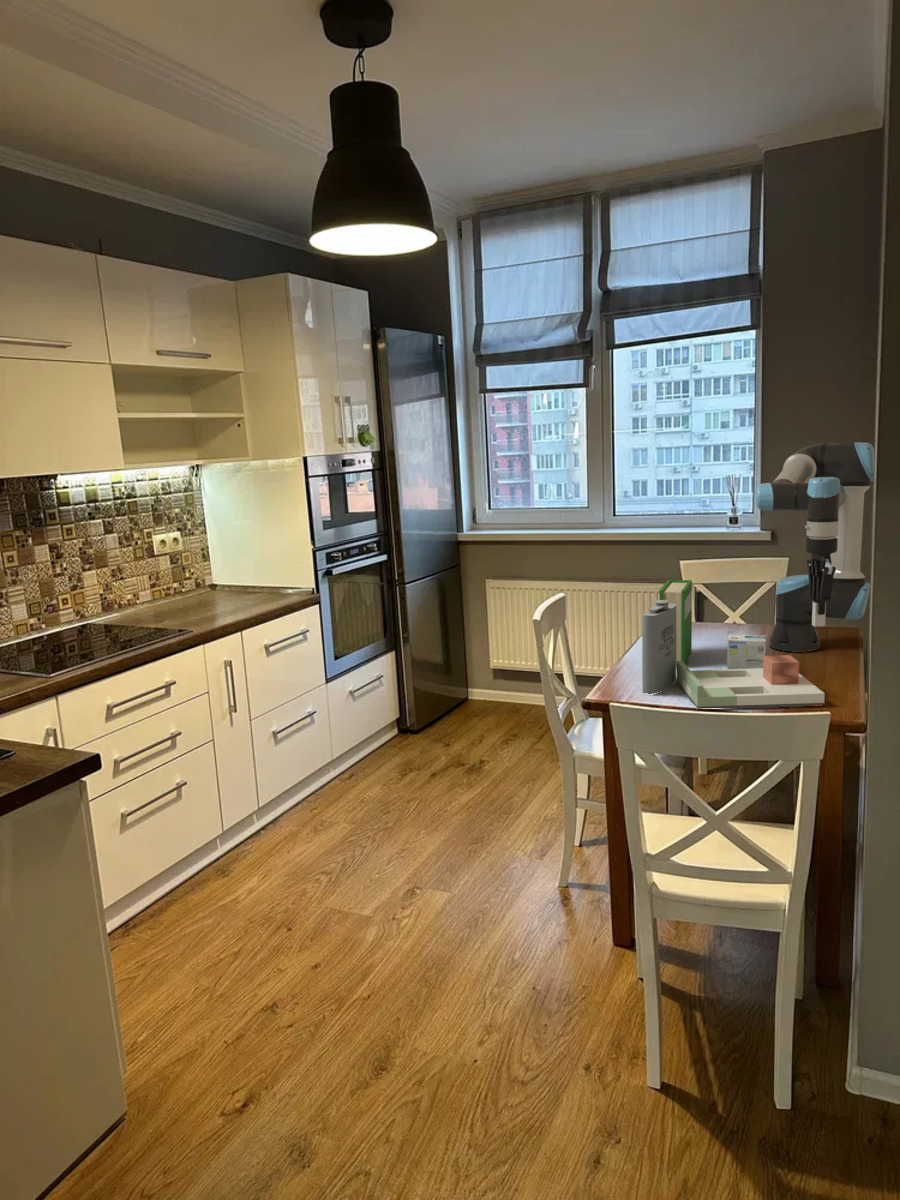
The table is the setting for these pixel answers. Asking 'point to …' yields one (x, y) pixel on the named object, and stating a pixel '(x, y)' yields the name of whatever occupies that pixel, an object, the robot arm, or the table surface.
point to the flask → (659, 647)
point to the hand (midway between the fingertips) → (818, 625)
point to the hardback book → (681, 615)
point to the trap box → (743, 689)
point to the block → (781, 669)
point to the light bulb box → (746, 651)
